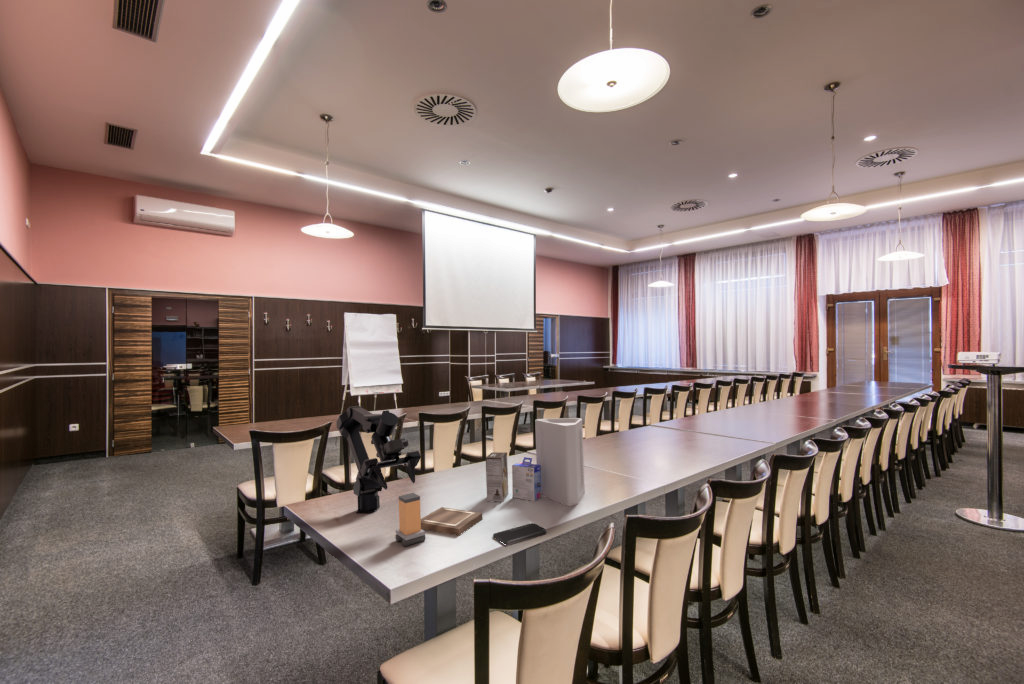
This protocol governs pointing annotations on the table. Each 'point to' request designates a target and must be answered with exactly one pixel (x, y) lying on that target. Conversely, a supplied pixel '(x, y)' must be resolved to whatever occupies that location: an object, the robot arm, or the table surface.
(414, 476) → the robot arm
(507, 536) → the phone
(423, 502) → the table surface
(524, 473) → the ink cartridge box
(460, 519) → the dock
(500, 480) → the coffee box
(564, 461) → the white triangular vase
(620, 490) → the table surface
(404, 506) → the grey-topped tan box
